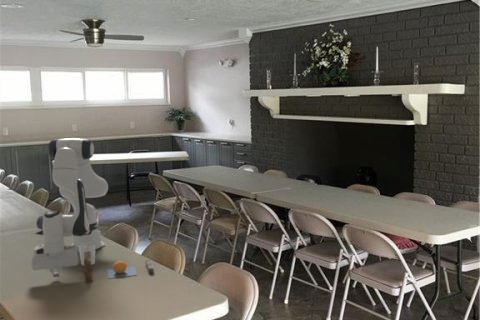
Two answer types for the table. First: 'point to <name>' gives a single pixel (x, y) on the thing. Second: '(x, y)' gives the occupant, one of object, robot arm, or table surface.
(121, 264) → the ball
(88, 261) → the bridge
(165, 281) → the table surface
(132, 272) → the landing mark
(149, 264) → the grey rectangular bar
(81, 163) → the robot arm
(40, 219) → the bluetooth speaker
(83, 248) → the white cup
